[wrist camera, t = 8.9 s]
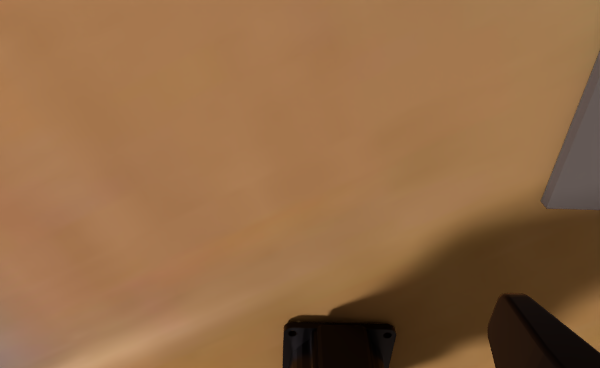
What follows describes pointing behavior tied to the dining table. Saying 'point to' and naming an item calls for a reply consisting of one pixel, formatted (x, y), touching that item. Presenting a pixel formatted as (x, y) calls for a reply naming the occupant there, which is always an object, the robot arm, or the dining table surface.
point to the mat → (579, 155)
